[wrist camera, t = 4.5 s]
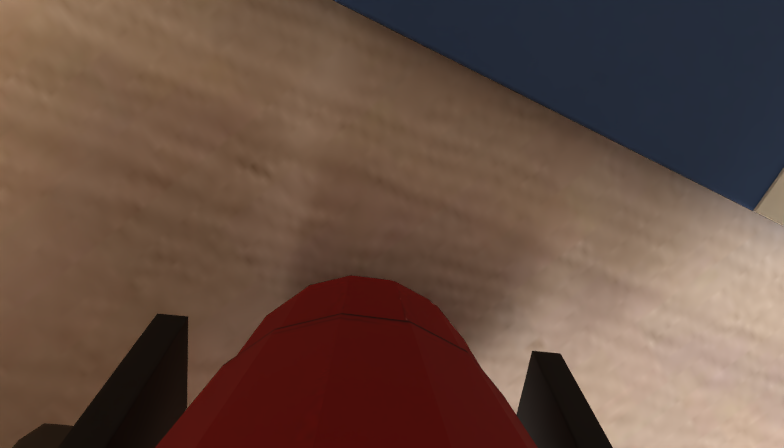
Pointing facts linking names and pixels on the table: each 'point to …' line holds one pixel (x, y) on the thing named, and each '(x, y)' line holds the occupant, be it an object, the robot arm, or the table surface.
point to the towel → (633, 75)
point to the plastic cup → (351, 379)
